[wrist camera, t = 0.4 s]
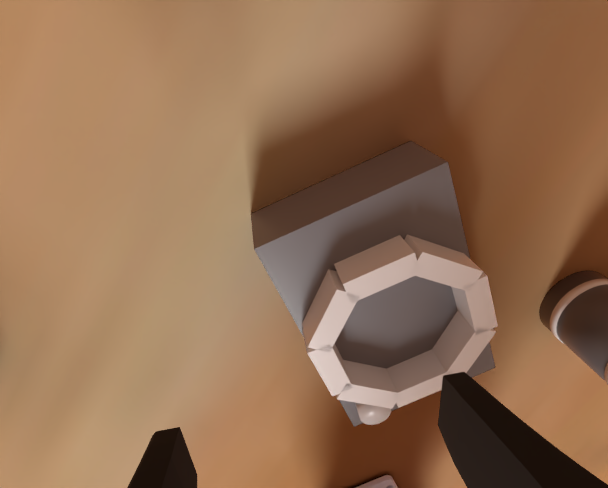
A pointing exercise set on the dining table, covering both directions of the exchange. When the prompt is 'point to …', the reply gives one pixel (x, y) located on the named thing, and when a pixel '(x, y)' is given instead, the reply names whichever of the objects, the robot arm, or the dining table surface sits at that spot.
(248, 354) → the dining table surface
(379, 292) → the camera body
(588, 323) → the lens
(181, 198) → the dining table surface
